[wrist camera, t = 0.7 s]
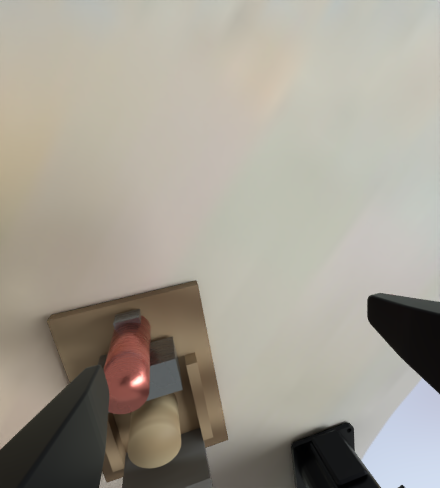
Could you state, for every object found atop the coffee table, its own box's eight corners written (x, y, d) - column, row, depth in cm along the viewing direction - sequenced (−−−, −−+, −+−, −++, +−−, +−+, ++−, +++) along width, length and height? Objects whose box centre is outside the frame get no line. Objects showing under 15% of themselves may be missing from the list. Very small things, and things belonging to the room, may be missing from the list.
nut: (181, 416, 22) (185, 457, 19) (137, 430, 21) (134, 475, 18) (172, 381, 21) (175, 417, 18) (126, 394, 20) (121, 435, 17)
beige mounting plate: (225, 431, 24) (242, 490, 20) (108, 472, 22) (96, 547, 18) (196, 280, 20) (208, 310, 16) (51, 315, 19) (17, 359, 14)
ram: (179, 364, 20) (188, 434, 15) (109, 384, 20) (91, 467, 14) (164, 302, 19) (169, 354, 13) (89, 321, 18) (60, 385, 13)
